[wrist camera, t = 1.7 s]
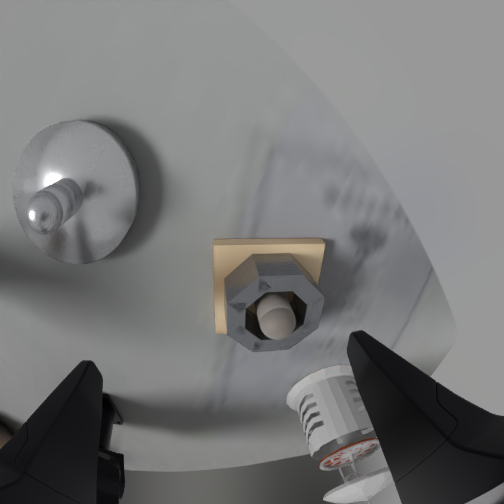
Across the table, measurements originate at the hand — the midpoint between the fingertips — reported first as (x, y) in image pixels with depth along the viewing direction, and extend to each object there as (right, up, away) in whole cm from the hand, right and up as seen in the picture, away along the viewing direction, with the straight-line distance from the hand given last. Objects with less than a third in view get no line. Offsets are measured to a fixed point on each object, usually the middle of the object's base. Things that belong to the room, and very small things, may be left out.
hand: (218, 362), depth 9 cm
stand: (+2, +1, +14) cm, 14 cm away
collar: (+2, 0, +13) cm, 13 cm away
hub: (-11, +8, +8) cm, 16 cm away
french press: (+10, -14, +23) cm, 29 cm away
